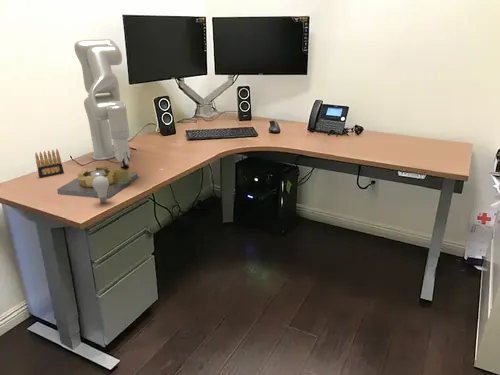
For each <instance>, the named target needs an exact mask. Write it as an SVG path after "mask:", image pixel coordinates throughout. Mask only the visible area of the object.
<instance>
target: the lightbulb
mask: <svg viewBox="0 0 500 375" xmlns="http://www.w3.org/2000/svg"><path fill="white" fill-rule="evenodd" d="M92 186H93V188H94V189H95V190H96V192H97V193H98V197H97V198H99V201H100V202H101V203H106V202H107V200H108V198H106V196H107V189H108V186H109V181H108V179H107V178H105V177H104V176H97V177H96V178H94V180H93V182H92Z"/></svg>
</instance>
